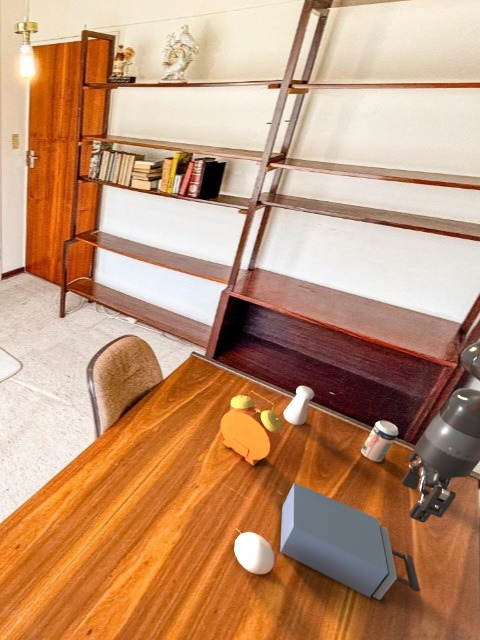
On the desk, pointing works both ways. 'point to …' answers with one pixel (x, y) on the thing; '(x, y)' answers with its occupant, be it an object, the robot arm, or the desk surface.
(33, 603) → the desk surface
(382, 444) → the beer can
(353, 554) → the cabinet
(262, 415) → the alarm clock
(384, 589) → the drawer
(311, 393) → the salt shaker
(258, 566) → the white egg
